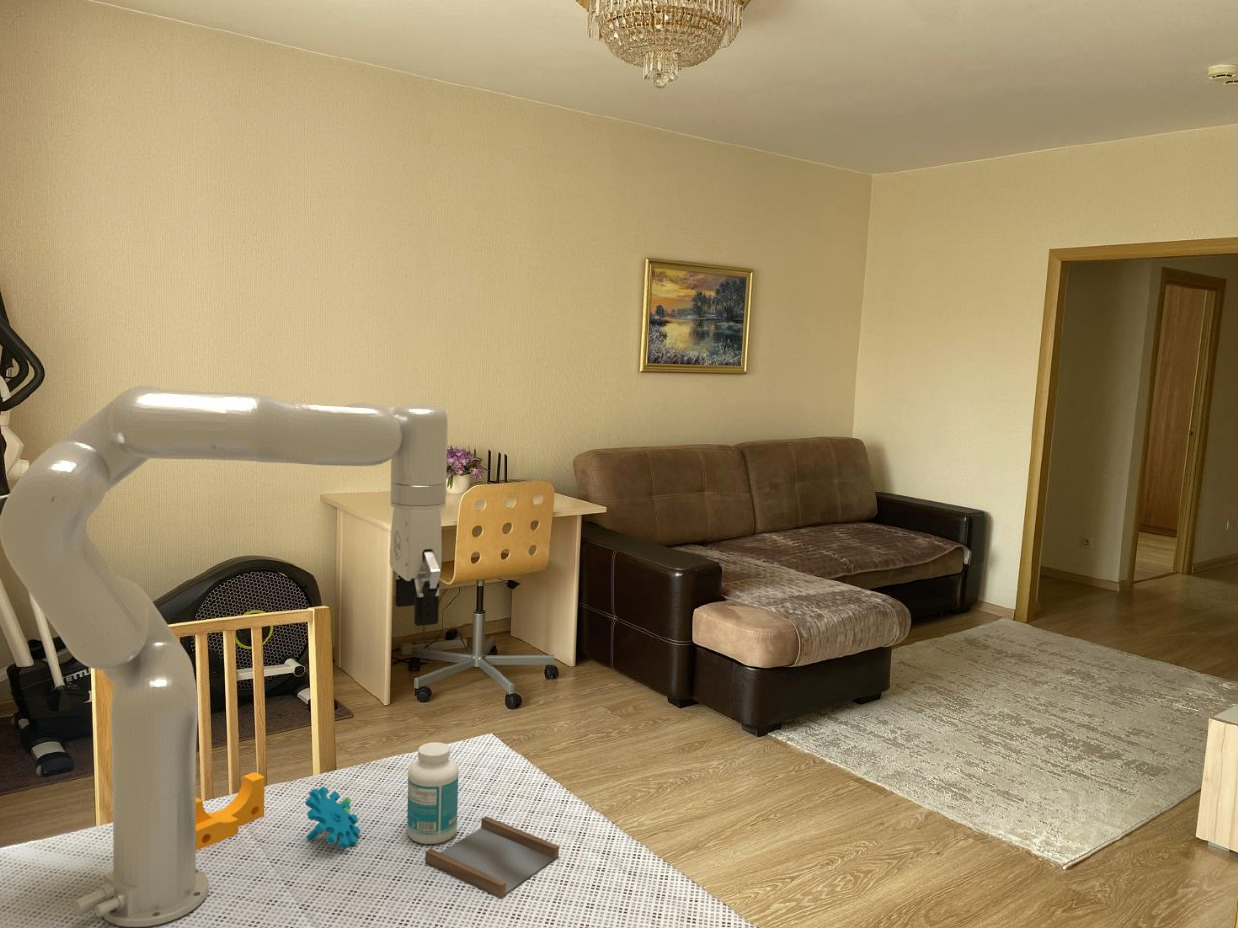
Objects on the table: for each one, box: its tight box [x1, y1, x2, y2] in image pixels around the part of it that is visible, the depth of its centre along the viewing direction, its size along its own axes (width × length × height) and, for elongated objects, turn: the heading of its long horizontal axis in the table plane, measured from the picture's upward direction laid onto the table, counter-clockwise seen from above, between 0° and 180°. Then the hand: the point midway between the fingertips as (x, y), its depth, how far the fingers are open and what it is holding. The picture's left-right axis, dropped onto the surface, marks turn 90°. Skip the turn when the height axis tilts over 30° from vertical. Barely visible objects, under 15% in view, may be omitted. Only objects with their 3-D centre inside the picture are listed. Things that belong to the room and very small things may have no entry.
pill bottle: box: [406, 742, 459, 845], centre depth 140 cm, size 8×7×14 cm
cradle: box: [424, 815, 560, 899], centre depth 134 cm, size 13×14×2 cm
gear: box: [304, 786, 361, 850], centre depth 137 cm, size 11×6×10 cm
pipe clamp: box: [196, 771, 266, 850], centre depth 138 cm, size 12×4×6 cm, turn 145°
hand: (416, 614), depth 131 cm, fingers open, 9 cm apart
